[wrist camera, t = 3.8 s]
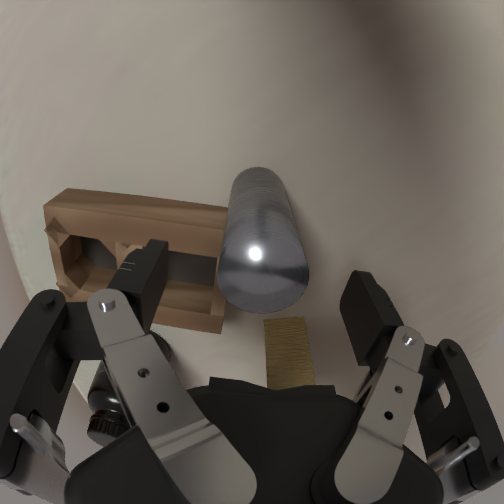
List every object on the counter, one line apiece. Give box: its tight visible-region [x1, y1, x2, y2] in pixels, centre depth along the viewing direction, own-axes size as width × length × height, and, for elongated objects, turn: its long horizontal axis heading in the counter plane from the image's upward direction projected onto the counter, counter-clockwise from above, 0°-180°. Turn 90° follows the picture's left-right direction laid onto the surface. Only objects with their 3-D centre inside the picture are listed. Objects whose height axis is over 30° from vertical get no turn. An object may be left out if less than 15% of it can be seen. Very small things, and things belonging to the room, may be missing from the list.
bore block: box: [43, 188, 228, 334], centre depth 21 cm, size 9×14×4 cm, turn 80°
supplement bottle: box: [87, 331, 170, 447], centre depth 23 cm, size 7×7×12 cm
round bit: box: [217, 167, 309, 313], centre depth 16 cm, size 4×4×10 cm
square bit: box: [264, 317, 316, 390], centre depth 23 cm, size 4×4×10 cm
